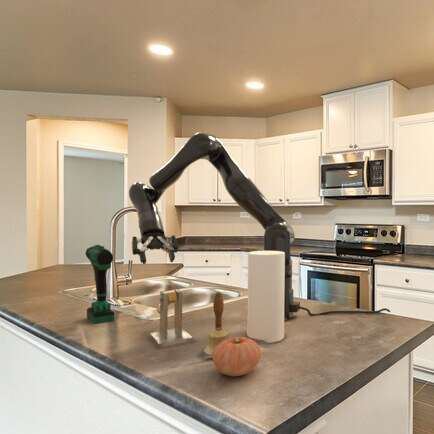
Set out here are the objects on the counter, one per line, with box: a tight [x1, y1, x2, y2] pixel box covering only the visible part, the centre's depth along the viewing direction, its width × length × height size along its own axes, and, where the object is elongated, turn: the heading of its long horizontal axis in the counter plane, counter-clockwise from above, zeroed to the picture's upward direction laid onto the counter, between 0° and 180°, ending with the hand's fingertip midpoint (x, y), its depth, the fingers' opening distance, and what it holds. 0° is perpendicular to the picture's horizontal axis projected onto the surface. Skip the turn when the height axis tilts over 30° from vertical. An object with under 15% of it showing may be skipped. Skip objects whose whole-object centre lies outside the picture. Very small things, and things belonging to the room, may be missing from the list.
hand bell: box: [203, 291, 229, 361], centre depth 99 cm, size 8×8×16 cm
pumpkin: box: [212, 336, 262, 377], centre depth 87 cm, size 11×11×8 cm
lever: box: [156, 291, 177, 315], centre depth 113 cm, size 14×3×3 cm, turn 37°
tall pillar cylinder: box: [246, 250, 285, 344], centre depth 112 cm, size 11×11×25 cm
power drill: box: [85, 244, 115, 325], centre depth 132 cm, size 6×29×25 cm, turn 41°
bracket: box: [149, 288, 193, 345], centre depth 109 cm, size 11×9×14 cm
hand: (158, 261), depth 126 cm, fingers open, 8 cm apart
